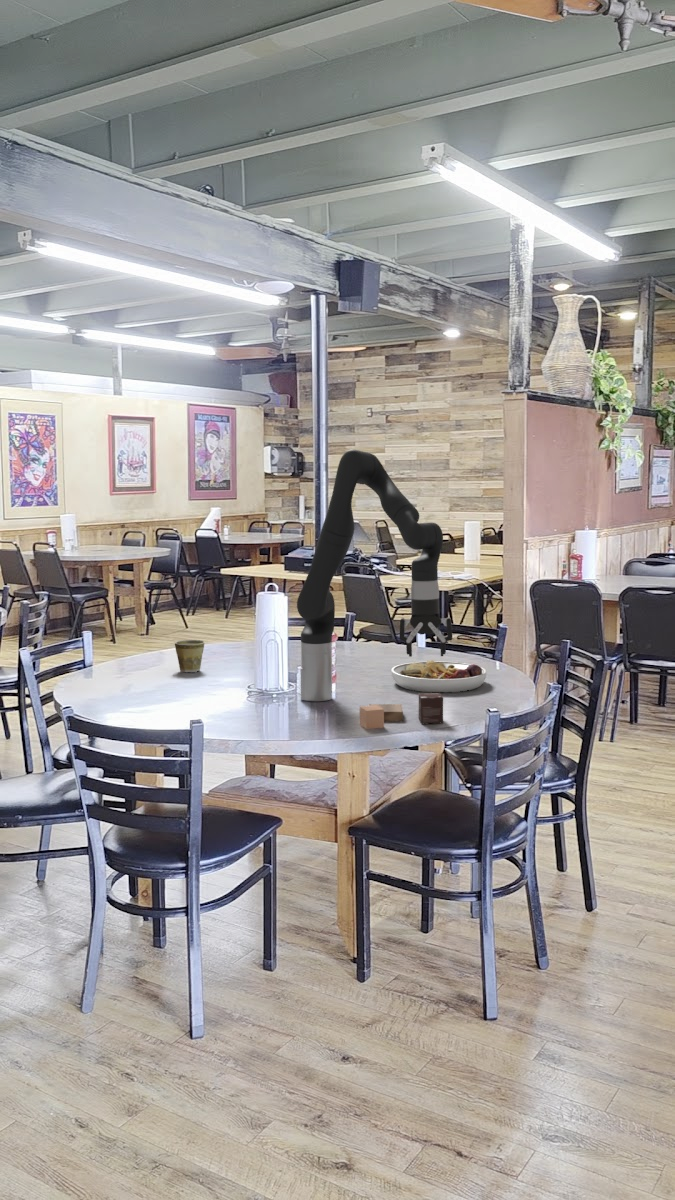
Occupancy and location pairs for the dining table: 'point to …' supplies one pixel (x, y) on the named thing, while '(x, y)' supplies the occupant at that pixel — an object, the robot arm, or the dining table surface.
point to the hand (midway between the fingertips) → (426, 656)
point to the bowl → (438, 676)
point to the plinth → (391, 711)
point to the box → (430, 708)
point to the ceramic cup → (189, 654)
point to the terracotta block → (371, 717)
